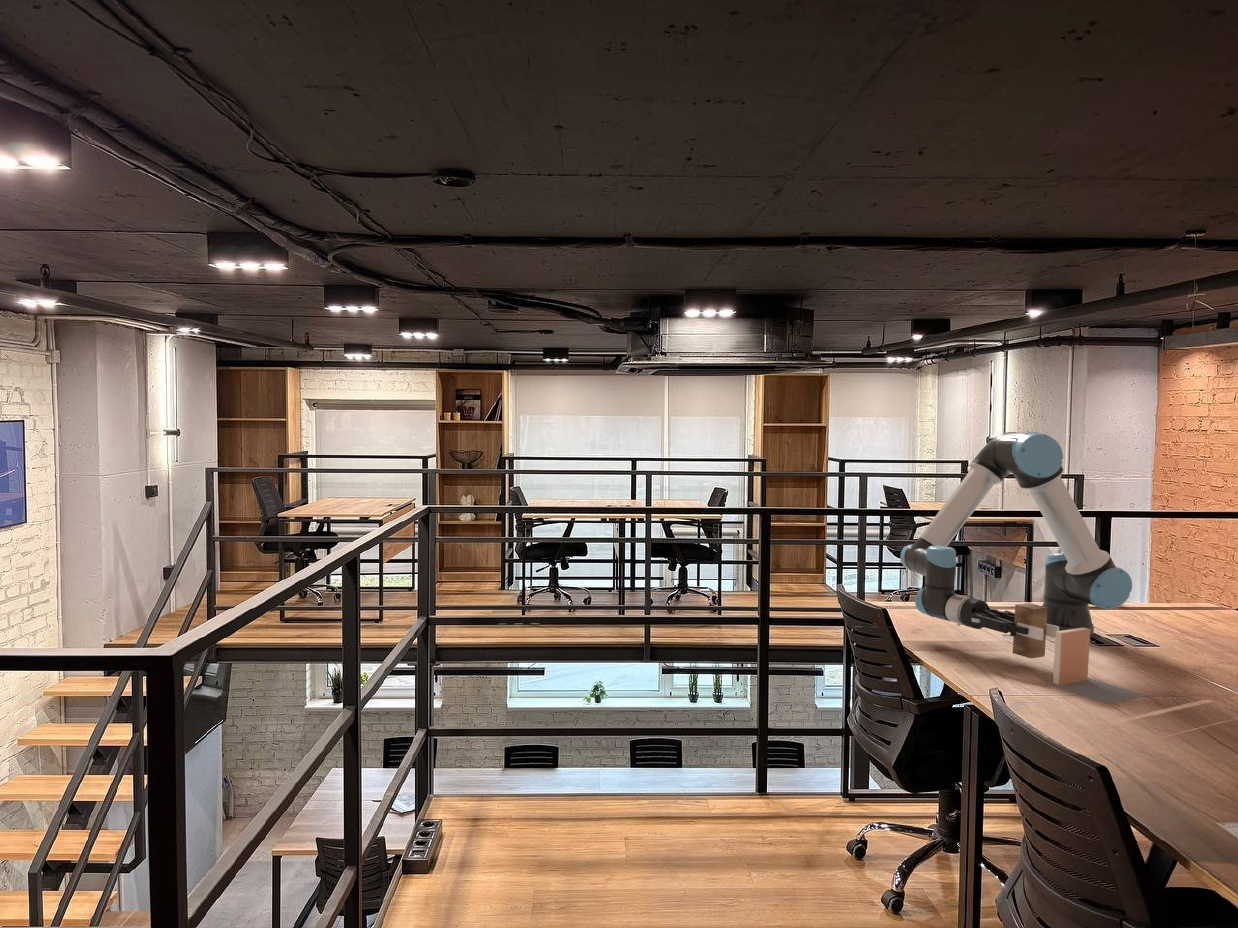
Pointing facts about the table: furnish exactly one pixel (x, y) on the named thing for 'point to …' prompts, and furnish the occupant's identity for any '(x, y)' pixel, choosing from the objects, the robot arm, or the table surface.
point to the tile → (1071, 656)
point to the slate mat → (1099, 691)
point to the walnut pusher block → (1032, 617)
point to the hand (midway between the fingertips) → (1049, 633)
